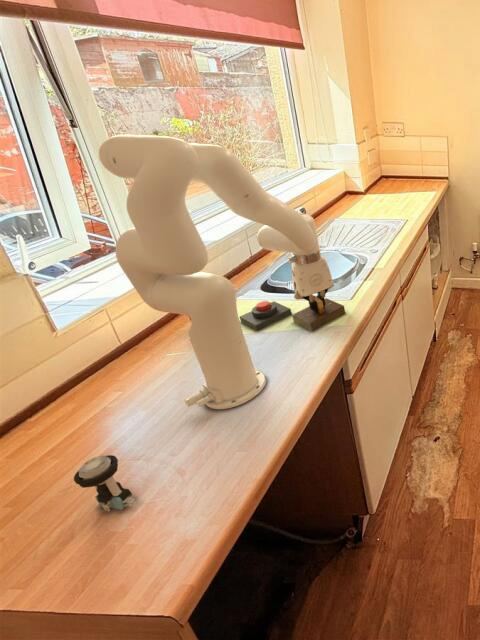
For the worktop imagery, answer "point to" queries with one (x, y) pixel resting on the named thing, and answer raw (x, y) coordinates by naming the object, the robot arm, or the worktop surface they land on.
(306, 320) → the plate
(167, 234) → the robot arm
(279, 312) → the doorbell
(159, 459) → the worktop surface
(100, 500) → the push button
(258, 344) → the worktop surface
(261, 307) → the bell button
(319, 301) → the lock turn
